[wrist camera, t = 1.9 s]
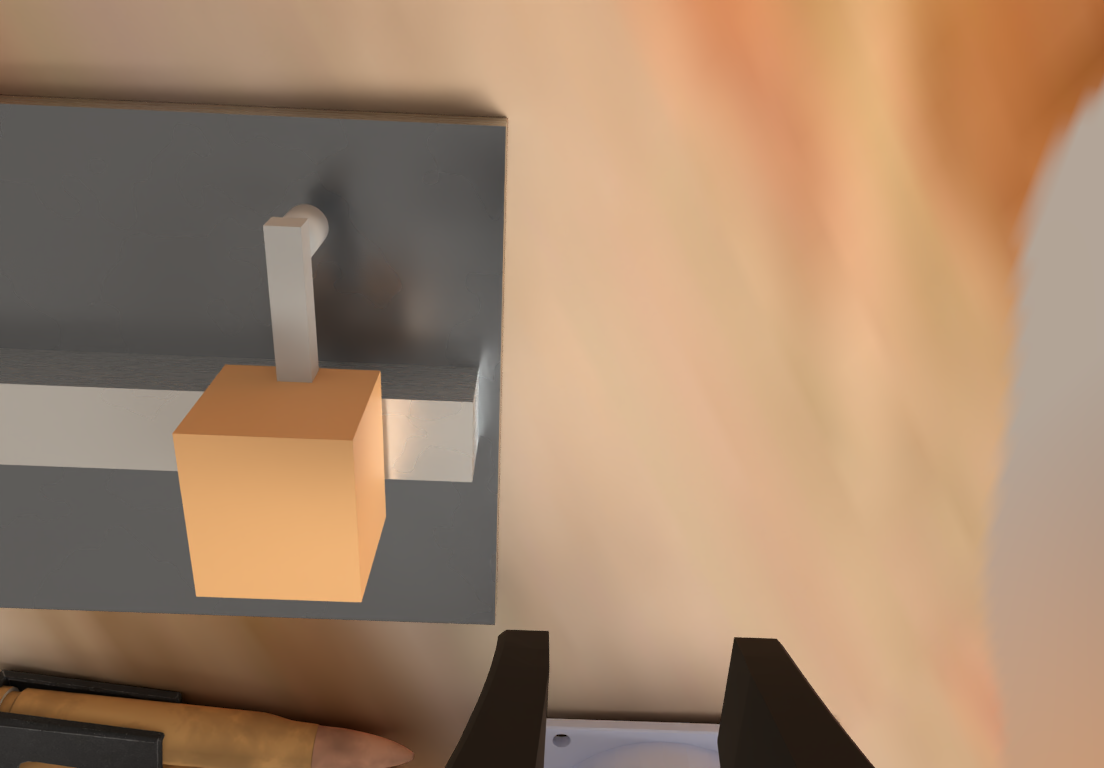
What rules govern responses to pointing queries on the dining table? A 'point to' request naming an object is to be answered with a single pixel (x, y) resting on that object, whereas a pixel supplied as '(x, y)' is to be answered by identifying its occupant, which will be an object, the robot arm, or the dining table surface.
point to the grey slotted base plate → (241, 336)
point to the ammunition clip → (164, 731)
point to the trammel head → (285, 453)
